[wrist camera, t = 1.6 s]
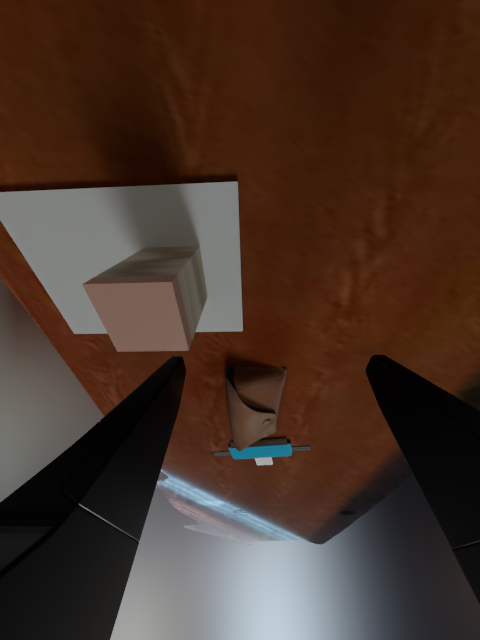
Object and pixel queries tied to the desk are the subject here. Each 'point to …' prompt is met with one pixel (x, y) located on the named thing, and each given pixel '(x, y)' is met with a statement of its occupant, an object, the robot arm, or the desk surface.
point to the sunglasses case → (253, 402)
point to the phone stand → (263, 451)
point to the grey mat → (128, 241)
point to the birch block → (151, 299)
